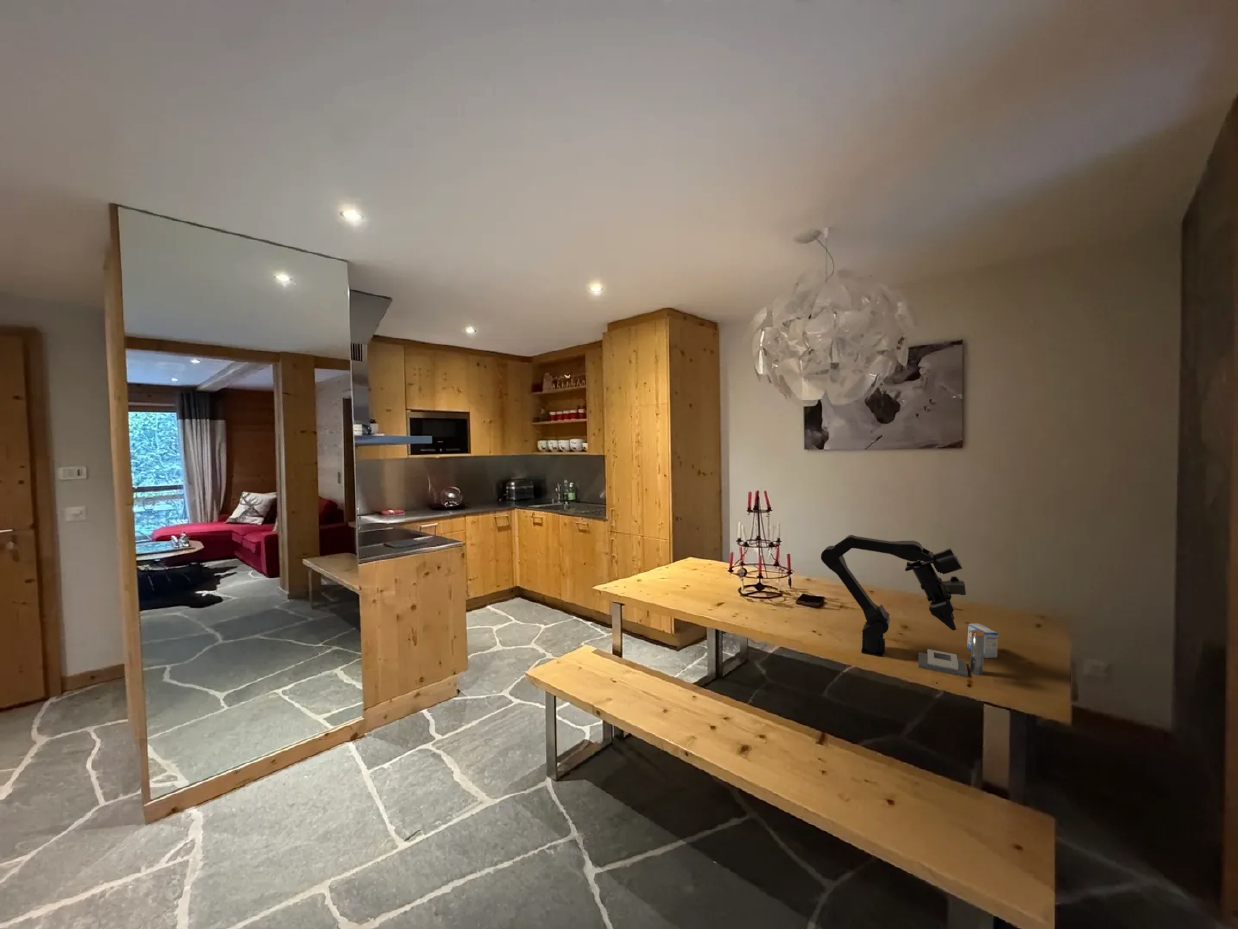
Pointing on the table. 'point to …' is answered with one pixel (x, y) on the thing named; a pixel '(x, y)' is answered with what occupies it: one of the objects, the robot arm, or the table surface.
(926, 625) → the table surface
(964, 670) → the plate
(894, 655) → the table surface
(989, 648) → the medicine box
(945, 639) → the table surface
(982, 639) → the steel pin
